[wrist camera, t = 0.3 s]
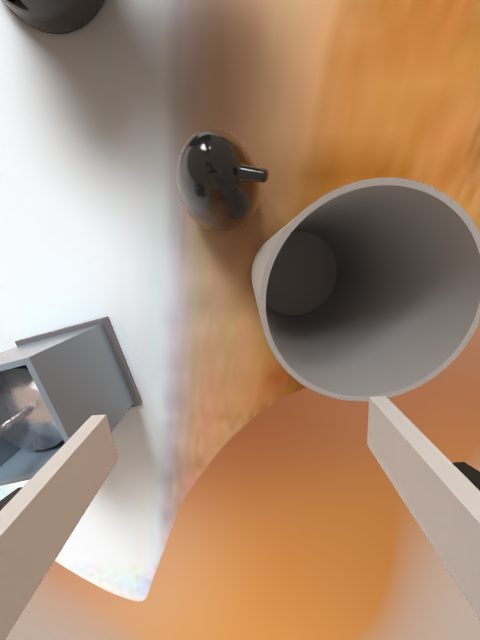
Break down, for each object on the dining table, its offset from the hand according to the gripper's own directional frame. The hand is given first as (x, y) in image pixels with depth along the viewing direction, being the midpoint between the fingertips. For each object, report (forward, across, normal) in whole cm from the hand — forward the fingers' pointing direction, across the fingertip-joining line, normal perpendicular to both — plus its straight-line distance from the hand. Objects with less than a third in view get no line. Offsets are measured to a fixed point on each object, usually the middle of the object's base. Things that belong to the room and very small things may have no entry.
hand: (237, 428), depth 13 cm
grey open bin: (+28, -28, -8) cm, 41 cm away
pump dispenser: (+28, -1, +17) cm, 33 cm away
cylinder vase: (+28, +8, +5) cm, 30 cm away
